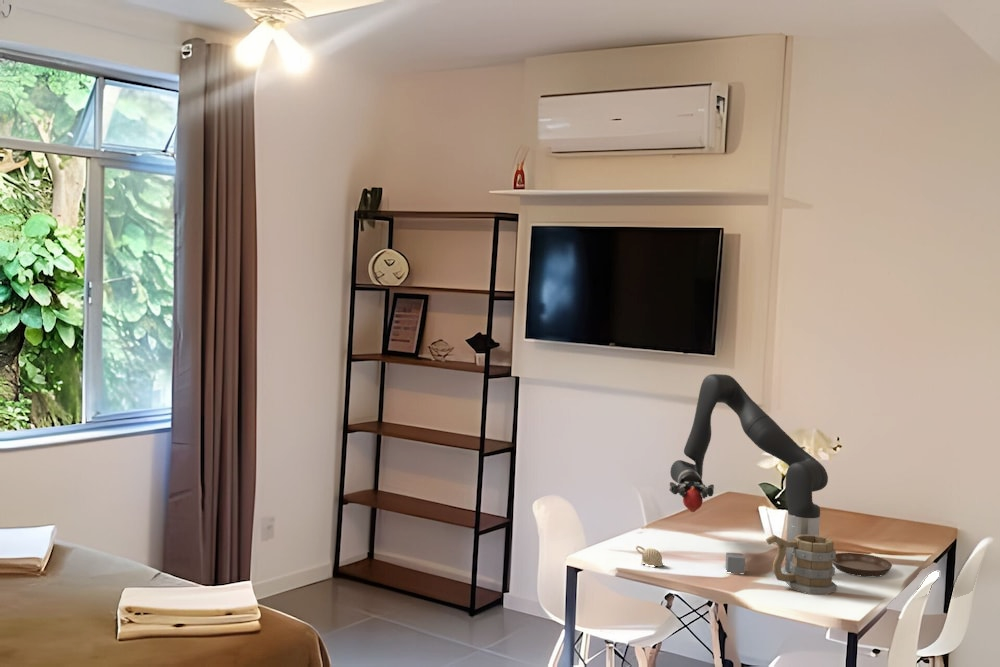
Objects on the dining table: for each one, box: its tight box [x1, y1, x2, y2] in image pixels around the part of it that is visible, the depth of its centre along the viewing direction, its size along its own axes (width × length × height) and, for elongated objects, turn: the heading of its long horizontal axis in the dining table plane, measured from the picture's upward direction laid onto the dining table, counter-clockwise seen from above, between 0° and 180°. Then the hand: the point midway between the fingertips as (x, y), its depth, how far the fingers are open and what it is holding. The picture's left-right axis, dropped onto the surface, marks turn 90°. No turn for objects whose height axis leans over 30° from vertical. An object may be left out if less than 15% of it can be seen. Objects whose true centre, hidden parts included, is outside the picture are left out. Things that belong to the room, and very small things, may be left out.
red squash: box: [682, 486, 704, 513], centre depth 299 cm, size 6×6×8 cm
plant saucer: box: [833, 552, 893, 577], centre depth 298 cm, size 18×18×3 cm
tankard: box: [765, 534, 838, 595], centre depth 278 cm, size 20×13×15 cm, turn 92°
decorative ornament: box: [635, 545, 664, 567], centre depth 296 cm, size 4×8×5 cm, turn 61°
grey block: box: [725, 552, 746, 573], centre depth 292 cm, size 5×5×5 cm
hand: (694, 494), depth 296 cm, fingers closed on red squash, 5 cm apart
